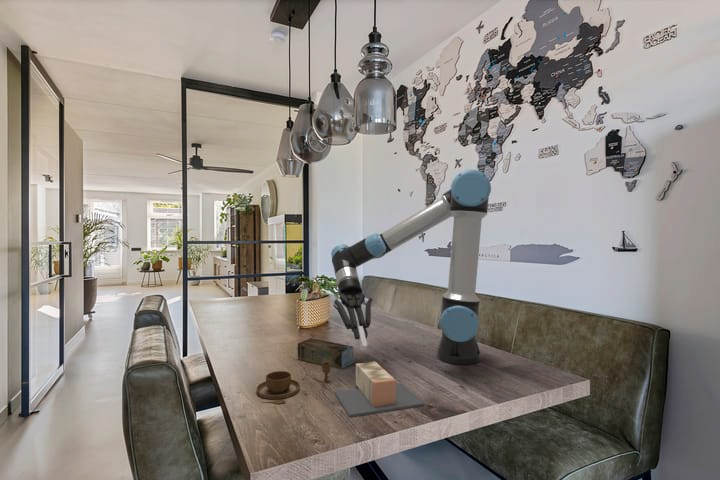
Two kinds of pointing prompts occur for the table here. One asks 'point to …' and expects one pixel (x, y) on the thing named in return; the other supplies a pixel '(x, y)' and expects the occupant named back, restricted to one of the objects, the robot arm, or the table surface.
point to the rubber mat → (360, 405)
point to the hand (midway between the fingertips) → (364, 348)
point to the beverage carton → (325, 353)
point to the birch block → (376, 384)
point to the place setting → (283, 384)
